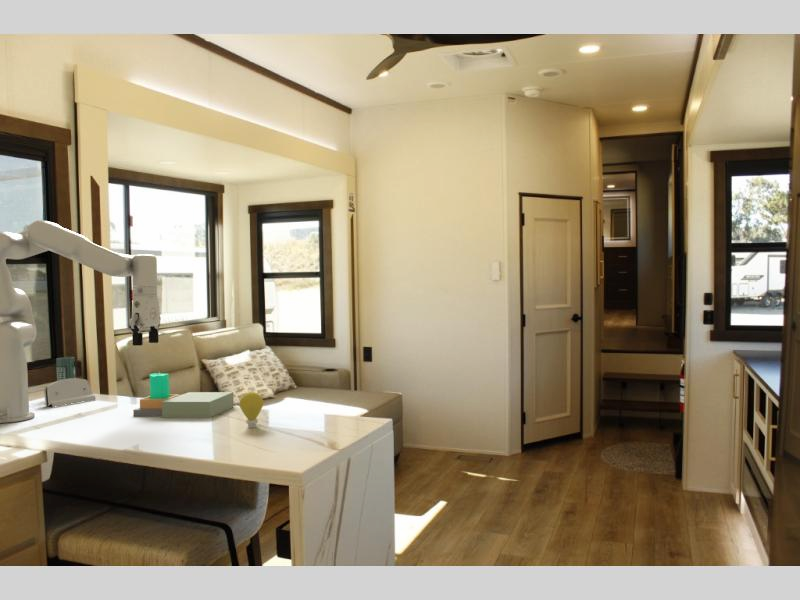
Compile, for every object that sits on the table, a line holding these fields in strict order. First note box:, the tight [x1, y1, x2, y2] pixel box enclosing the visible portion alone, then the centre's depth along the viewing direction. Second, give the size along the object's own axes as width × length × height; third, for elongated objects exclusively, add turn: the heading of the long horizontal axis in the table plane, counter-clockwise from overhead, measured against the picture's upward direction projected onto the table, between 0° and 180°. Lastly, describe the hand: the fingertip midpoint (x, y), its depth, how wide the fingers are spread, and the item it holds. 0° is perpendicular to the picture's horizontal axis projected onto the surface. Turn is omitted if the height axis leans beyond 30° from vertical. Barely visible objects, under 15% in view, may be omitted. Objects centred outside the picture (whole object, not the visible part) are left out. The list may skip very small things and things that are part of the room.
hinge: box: [43, 377, 97, 408], centre depth 240 cm, size 17×5×10 cm, turn 147°
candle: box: [149, 372, 170, 399], centre depth 217 cm, size 6×6×12 cm
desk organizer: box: [133, 391, 234, 419], centre depth 216 cm, size 18×27×5 cm, turn 81°
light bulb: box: [239, 391, 264, 429], centre depth 190 cm, size 7×7×10 cm
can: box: [55, 356, 76, 381], centre depth 254 cm, size 6×6×15 cm
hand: (145, 344), depth 216 cm, fingers open, 9 cm apart
